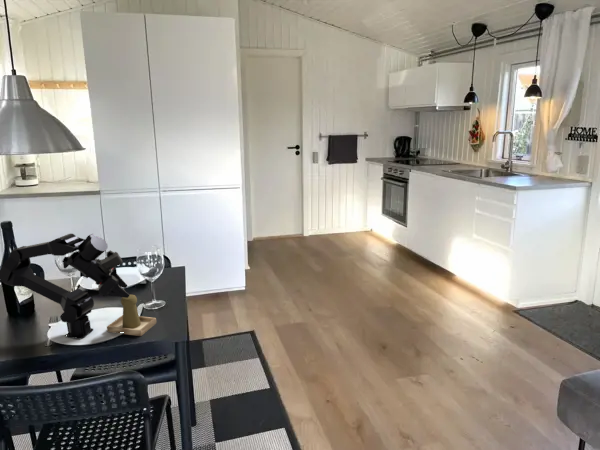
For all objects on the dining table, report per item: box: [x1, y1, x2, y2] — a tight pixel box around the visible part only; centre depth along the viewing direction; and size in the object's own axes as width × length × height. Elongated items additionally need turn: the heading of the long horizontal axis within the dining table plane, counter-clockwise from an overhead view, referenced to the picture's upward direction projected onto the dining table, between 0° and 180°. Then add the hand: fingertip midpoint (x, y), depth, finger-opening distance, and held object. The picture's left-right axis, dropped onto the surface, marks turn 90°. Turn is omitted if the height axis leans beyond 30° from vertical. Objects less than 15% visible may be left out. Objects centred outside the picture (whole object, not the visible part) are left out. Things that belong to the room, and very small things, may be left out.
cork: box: [120, 294, 141, 329], centre depth 156 cm, size 6×6×11 cm
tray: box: [106, 314, 157, 337], centre depth 157 cm, size 13×10×2 cm
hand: (127, 291), depth 154 cm, fingers open, 9 cm apart
